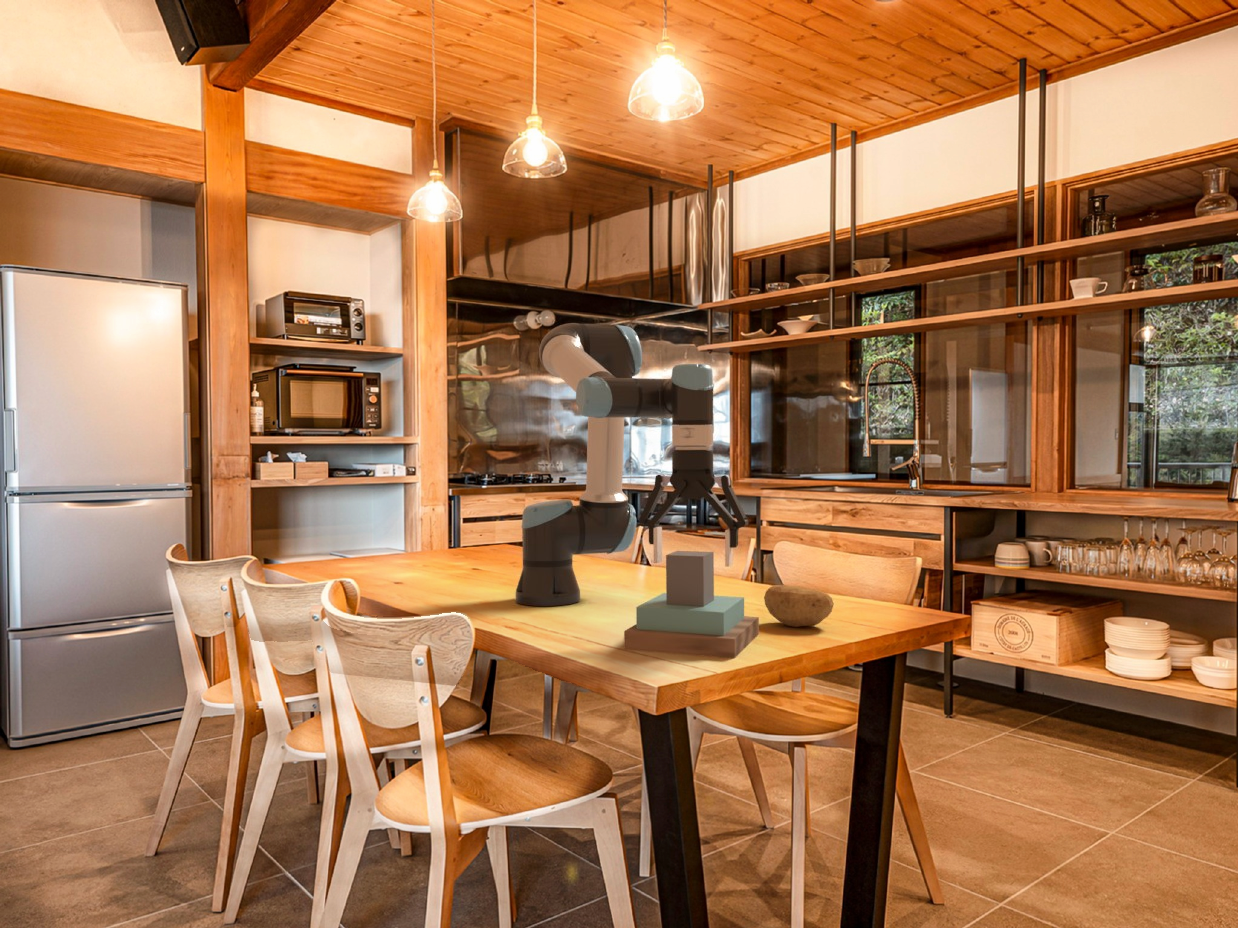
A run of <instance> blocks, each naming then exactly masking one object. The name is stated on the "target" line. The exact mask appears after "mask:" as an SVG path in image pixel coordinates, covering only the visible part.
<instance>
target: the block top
mask: <svg viewBox="0 0 1238 928" xmlns="http://www.w3.org/2000/svg"><path fill="white" fill-rule="evenodd" d="M635 609H636V613H635V614H636V617H635V618H636V619H635V622H636V623H635V624H637V629H639V630H653V631H667V632H681V633H695V634H709V635H723V636H724V635H725V634H726V633H727V632H729V631H730V630H731V629H732V628H733V627H735V626H736V625H737V624H738V623H739V622H740V621H742V620H743V619H744V616H745V597H743V596H742V597H741V596H725V595H724V596H723V595H714V600H713V601H712V602H710V603H709V604H707V605H705V606H704V607H703V606H686V605H668V604H667V601H666V592H663V593H661V594H659V595H656V596H655V597H653V598H650V599H649V600H647V601H646V602H643V603H641V604H640V605H637V606H636V608H635Z"/></svg>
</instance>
